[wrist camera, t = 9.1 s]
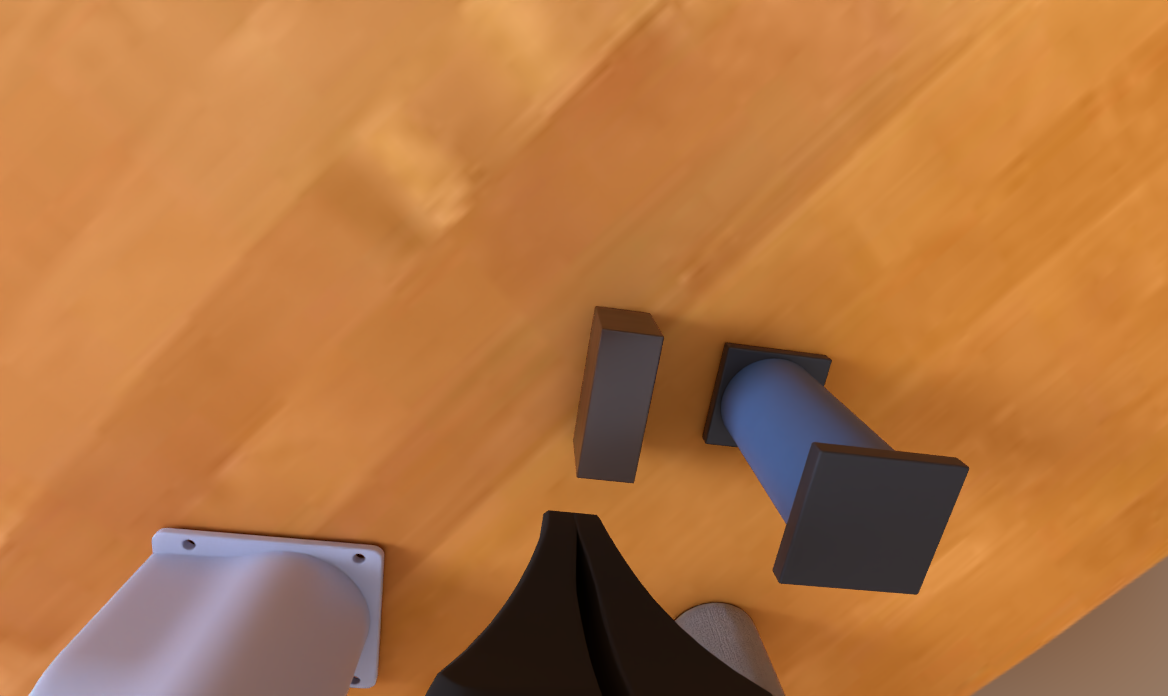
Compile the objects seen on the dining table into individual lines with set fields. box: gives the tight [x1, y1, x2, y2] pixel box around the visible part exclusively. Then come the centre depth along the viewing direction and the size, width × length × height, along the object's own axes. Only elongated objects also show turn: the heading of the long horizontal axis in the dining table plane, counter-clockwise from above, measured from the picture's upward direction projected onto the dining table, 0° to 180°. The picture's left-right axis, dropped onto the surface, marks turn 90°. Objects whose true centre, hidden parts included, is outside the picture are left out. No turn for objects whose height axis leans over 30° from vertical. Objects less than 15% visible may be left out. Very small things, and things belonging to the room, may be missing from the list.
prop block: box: [573, 306, 664, 483], centre depth 23 cm, size 2×6×3 cm, turn 171°
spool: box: [703, 343, 969, 594], centre depth 21 cm, size 10×4×9 cm
